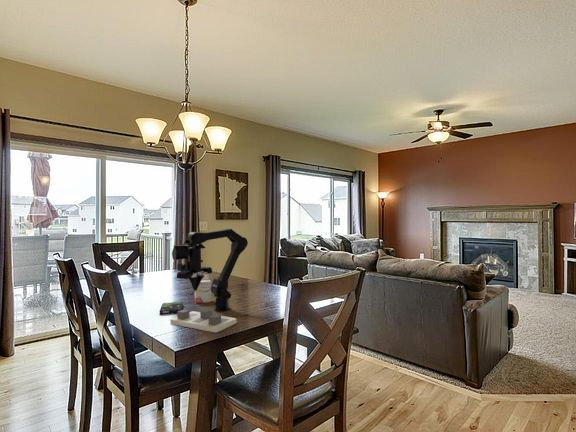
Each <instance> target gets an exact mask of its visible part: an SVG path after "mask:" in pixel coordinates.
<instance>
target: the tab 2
mask: <svg viewBox="0 0 576 432" xmlns="http://www.w3.org/2000/svg"><path fill="white" fill-rule="evenodd" d="M221 316H222V315H221V314H220V315H219V314H213V315H212V316H210V317H209V324H211V325H217V324H219V323H221Z"/></svg>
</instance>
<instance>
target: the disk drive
mask: <svg viewBox="0 0 576 432" xmlns="http://www.w3.org/2000/svg"><path fill="white" fill-rule="evenodd" d="M183 306H184V302H183V301H173V302H163V303H162V304H161V307H160V308H159V315H160V316H163V315H167V316H168V315H177V312H178V311H181V310H183Z"/></svg>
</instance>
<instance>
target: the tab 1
mask: <svg viewBox="0 0 576 432" xmlns="http://www.w3.org/2000/svg"><path fill="white" fill-rule="evenodd" d="M190 312H191V311H190V310H189V309H182V310H181V311H178V312H177V314H176V317H177V318H178V319H186V318H188V317H190Z"/></svg>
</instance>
